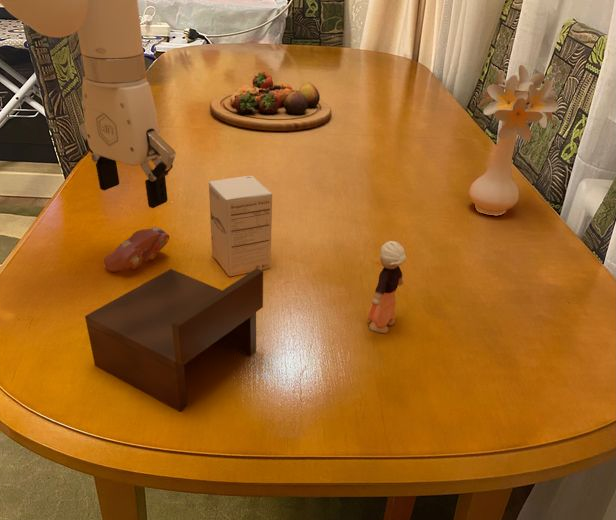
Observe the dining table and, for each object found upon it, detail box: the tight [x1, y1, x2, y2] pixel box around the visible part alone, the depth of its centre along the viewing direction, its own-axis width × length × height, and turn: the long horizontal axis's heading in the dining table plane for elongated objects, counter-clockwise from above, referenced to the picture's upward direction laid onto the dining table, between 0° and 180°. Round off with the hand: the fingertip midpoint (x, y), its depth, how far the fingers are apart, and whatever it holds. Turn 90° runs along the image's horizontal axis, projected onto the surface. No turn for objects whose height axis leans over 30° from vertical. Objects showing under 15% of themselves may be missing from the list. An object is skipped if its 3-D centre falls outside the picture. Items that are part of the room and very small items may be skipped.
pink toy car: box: [103, 225, 170, 273], centre depth 92 cm, size 10×5×7 cm, turn 148°
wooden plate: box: [209, 71, 332, 132], centre depth 158 cm, size 32×32×8 cm
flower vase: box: [468, 64, 559, 214], centre depth 109 cm, size 13×18×25 cm
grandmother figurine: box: [367, 240, 407, 334], centre depth 80 cm, size 8×4×13 cm, turn 159°
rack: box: [84, 268, 264, 412], centre depth 72 cm, size 15×14×12 cm
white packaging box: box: [208, 175, 273, 277], centre depth 92 cm, size 7×7×13 cm
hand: (133, 195), depth 87 cm, fingers open, 9 cm apart
